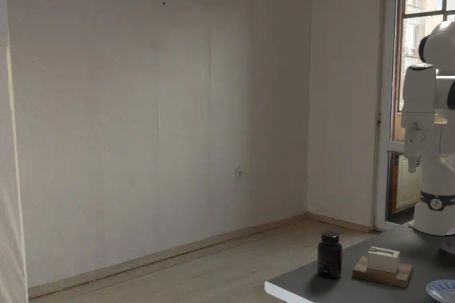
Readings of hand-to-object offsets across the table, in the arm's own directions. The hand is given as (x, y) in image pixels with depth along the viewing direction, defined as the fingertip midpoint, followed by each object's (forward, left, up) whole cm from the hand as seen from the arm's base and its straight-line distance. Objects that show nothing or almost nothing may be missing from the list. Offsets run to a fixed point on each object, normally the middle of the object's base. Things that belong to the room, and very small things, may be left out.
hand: (414, 169), depth 131 cm
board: (+12, -5, -29) cm, 31 cm away
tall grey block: (+12, -5, -27) cm, 29 cm away
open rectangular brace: (+12, -5, -27) cm, 29 cm away
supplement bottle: (+20, -18, -29) cm, 39 cm away
